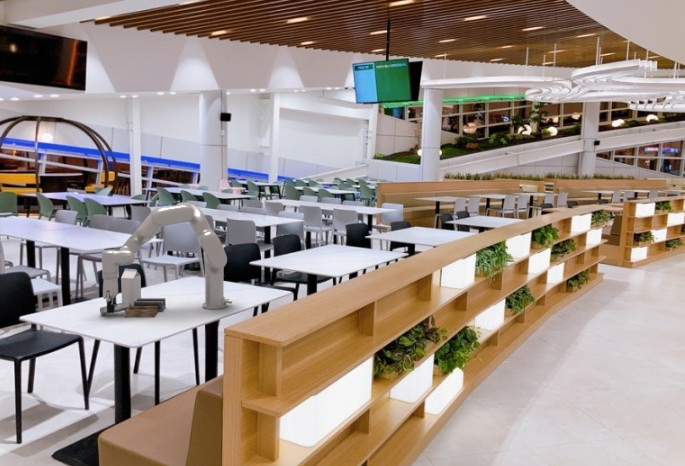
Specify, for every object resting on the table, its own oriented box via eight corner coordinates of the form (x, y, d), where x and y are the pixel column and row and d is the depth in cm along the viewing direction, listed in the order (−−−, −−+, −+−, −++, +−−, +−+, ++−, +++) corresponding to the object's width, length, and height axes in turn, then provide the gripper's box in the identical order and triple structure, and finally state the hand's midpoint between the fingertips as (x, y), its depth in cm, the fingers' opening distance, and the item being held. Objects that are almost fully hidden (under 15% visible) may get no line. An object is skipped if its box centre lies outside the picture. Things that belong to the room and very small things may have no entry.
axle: (131, 307, 291) (129, 300, 290) (129, 309, 287) (127, 302, 286) (103, 314, 290) (101, 306, 289) (101, 316, 286) (99, 308, 285)
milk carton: (134, 306, 305) (133, 270, 302) (121, 305, 307) (120, 270, 304) (141, 302, 312) (140, 268, 309) (129, 301, 313) (128, 267, 311)
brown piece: (157, 312, 294) (157, 306, 294) (154, 317, 287) (154, 310, 286) (129, 313, 293) (129, 306, 292) (125, 317, 285) (124, 310, 285)
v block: (165, 307, 304) (165, 298, 304) (162, 311, 297) (162, 302, 296) (138, 307, 303) (137, 298, 302) (134, 311, 295) (134, 302, 294)
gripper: (107, 271, 293) (109, 306, 296) (97, 278, 277) (98, 315, 279) (123, 271, 294) (124, 306, 297) (113, 278, 277) (114, 315, 280)
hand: (111, 310), depth 288 cm, fingers closed on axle, 4 cm apart
